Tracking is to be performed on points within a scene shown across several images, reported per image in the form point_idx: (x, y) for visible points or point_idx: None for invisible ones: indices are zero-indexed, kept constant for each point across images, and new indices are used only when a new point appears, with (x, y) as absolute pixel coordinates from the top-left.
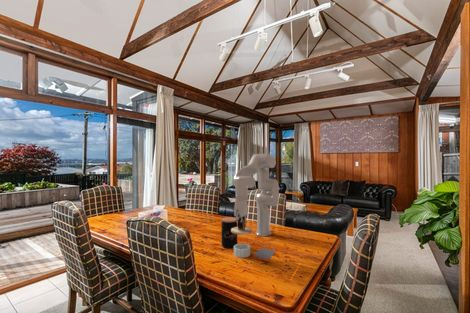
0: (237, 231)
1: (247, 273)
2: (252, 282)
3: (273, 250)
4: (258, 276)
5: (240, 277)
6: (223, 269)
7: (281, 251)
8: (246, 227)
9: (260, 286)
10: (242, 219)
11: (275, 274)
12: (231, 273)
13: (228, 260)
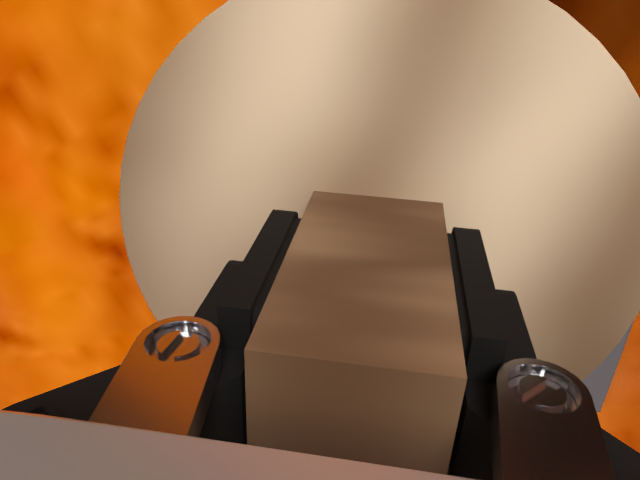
0: (195, 215)
1: (85, 283)
2: (13, 341)
3: (603, 390)
4: (98, 357)
5: (8, 256)
6: (10, 73)
7: (621, 441)
8: (587, 302)
9: (10, 388)
10: (395, 460)
11: None
12: (6, 172)
13: (190, 23)
